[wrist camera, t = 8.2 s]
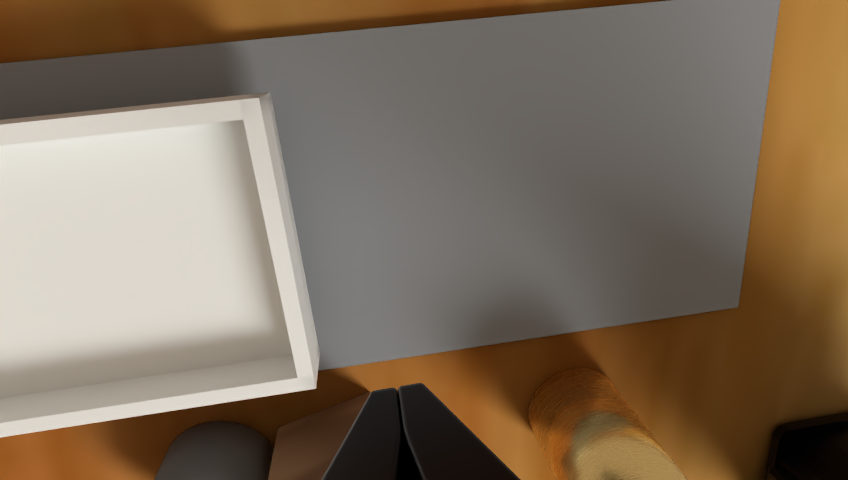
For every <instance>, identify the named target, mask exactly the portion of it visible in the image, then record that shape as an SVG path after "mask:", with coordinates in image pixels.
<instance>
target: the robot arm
mask: <svg viewBox="0 0 848 480" xmlns="http://www.w3.org/2000/svg"><path fill="white" fill-rule="evenodd" d="M398 398H399V399H398ZM322 480H520V479H519V478H518V477H517V476H516V475H515V474H514V473H513V472H512V471H511V470H510V469H509V468H508V467H507V466H506V465H505V464H504V463H503V462H502V461H501V460H500V459H499V458H498V457H497V456H496V455H495V454H494V453H493V452H492V451H491V450H490V449H489V448H488V447H487V446H486V445H485V444H484V443H483V442H482V441H481V440H480V439H479V438H478V437H476V436H475V435H474V434H473V433H472V432H471V431H470V430H469V429H468V428H467V427H466V426H465V425H464V424H463V423H462V422H461V421H460V420H459V419H458V418H457V417H456V416H455V415H454V414H453V413H452V412H451V411H450V410H449V409H448V408H447V407H446V406H445V405H444V404H443V403H442V402H441V401H440V400H439V399H438V398H437V397H436V396H435V395H434V394H433V393H432V392H431V391H430V390H429V389H428V388H427V387H426V386H425V385H424V384H422V383H417V384H411V385H405V386H401V387H399V389H398V392H397V390H396V389H395V388H388V389H382V390H376V391H373V392H371V393H370V395H369V397H368V399H367V400H366V402H365V404H364V406H363V407H362V409H361V411H360V413H359V414H358V416H357V418H356V420H355V421H354V423H353V425H352V427H351V429H350V430H349V432H348V434H347V436H346V437H345V439H344V441H343V443H342V444H341V446H340V448H339V450H338V451H337V453H336V455H335V457H334V458H333V460H332V462H331V464H330V466H329V467H328V469H327V471H326V473H325V474H324V476H323V478H322ZM765 480H848V413H845V414H839V415H834V416H828V417H822V418H816V419H811V420H805V421H799V422H793V423H788V424H783V425H780V426H779V427H777V428H776V429H775V431H774V433H773V436H772V441H771V447H770V452H769V458H768V464H767V469H766V475H765Z"/></svg>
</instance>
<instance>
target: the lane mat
mask: <svg viewBox="0 0 848 480" xmlns="http://www.w3.org/2000/svg"><path fill="white" fill-rule="evenodd" d="M779 6H780V0H669V1H659V2H648V3H638V4H627V5H616V6H606V7H595V8H584V9H574V10H563V11H553V12H542V13H531V14H521V15H510V16H500V17H489V18H478V19H468V20H457V21H446V22H436V23H425V24H415V25H404V26H393V27H383V28H372V29H362V30H351V31H340V32H330V33H319V34H309V35H298V36H287V37H277V38H266V39H255V40H245V41H234V42H224V43H213V44H202V45H192V46H181V47H171V48H160V49H149V50H139V51H128V52H117V53H107V54H96V55H86V56H75V57H64V58H54V59H43V60H33V61H22V62H11V63H1V64H0V120H5V119H14V118H24V117H34V116H43V115H53V114H63V113H72V112H82V111H92V110H101V109H111V108H121V107H130V106H140V105H150V104H159V103H169V102H179V101H188V100H198V99H208V98H218V97H227V96H237V95H247V94H256V93H266V92H270V93H271V98H272V104H273V109H274V114H275V120H276V125H277V130H278V135H279V141H280V146H281V151H282V157H283V162H284V167H285V173H286V178H287V183H288V188H289V194H290V199H291V204H292V210H293V215H294V220H295V226H296V231H297V236H298V241H299V247H300V252H301V257H302V263H303V268H304V273H305V278H306V284H307V289H308V294H309V300H310V305H311V310H312V316H313V321H314V326H315V331H316V337H317V342H318V347H319V353H320V358H319V367H318V371H320V370H327V369H334V368H340V367H347V366H353V365H360V364H367V363H373V362H380V361H386V360H393V359H400V358H406V357H413V356H420V355H426V354H433V353H439V352H446V351H453V350H459V349H466V348H472V347H479V346H486V345H492V344H499V343H505V342H512V341H519V340H525V339H532V338H539V337H545V336H552V335H558V334H565V333H572V332H578V331H585V330H591V329H598V328H605V327H611V326H618V325H624V324H631V323H638V322H644V321H651V320H658V319H664V318H671V317H677V316H684V315H691V314H697V313H704V312H710V311H717V310H724V309H730V308H737V307H738V306H739V299H740V292H741V284H742V277H743V270H744V262H745V255H746V248H747V240H748V233H749V226H750V218H751V211H752V204H753V196H754V189H755V182H756V174H757V167H758V160H759V152H760V145H761V138H762V130H763V123H764V116H765V108H766V101H767V94H768V86H769V79H770V72H771V64H772V57H773V50H774V42H775V35H776V28H777V20H778V13H779Z"/></svg>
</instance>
